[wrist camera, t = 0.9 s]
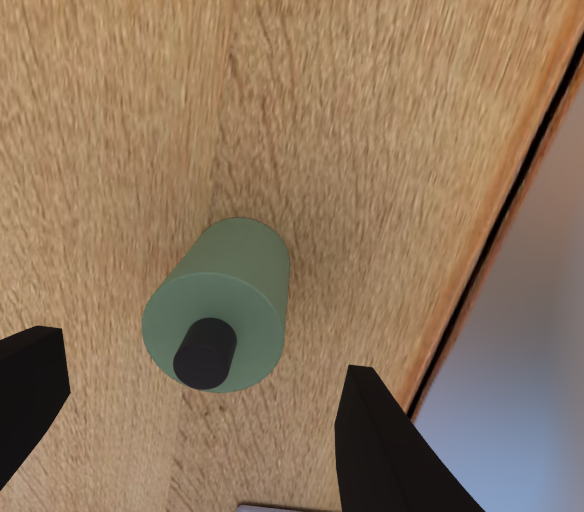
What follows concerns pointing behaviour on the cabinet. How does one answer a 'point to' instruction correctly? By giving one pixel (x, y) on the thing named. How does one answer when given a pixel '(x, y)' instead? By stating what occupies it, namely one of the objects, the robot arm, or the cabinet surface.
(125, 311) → the cabinet surface
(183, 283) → the sanitizer bottle
